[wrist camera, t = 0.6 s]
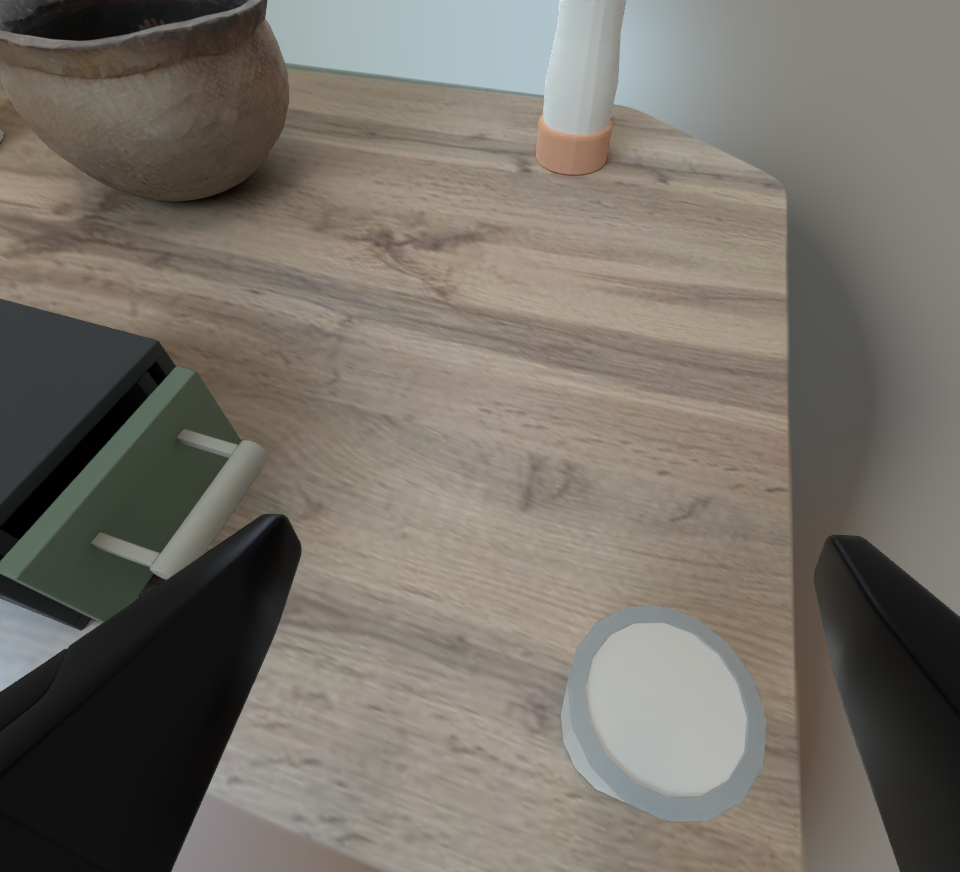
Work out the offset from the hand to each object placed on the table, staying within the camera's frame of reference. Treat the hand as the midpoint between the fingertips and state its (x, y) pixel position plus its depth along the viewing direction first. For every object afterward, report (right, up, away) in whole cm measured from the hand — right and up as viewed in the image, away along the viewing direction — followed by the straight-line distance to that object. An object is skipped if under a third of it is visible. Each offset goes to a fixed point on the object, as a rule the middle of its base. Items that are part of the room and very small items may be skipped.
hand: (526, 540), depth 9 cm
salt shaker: (+9, +30, +45) cm, 55 cm away
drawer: (-21, -2, +21) cm, 29 cm away
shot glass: (+6, -12, +15) cm, 20 cm away
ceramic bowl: (-28, +28, +43) cm, 59 cm away
